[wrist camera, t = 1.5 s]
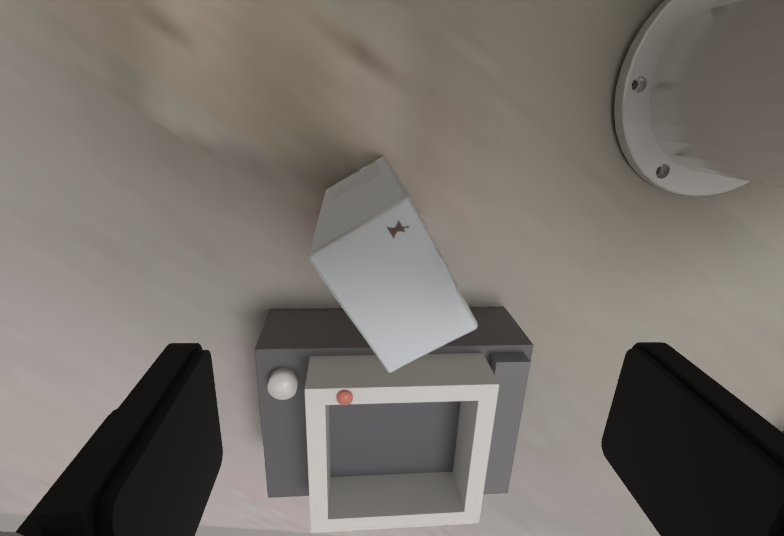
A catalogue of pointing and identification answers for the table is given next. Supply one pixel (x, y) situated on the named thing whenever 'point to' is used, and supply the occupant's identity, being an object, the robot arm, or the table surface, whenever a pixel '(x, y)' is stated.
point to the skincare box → (387, 268)
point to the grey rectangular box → (388, 420)
